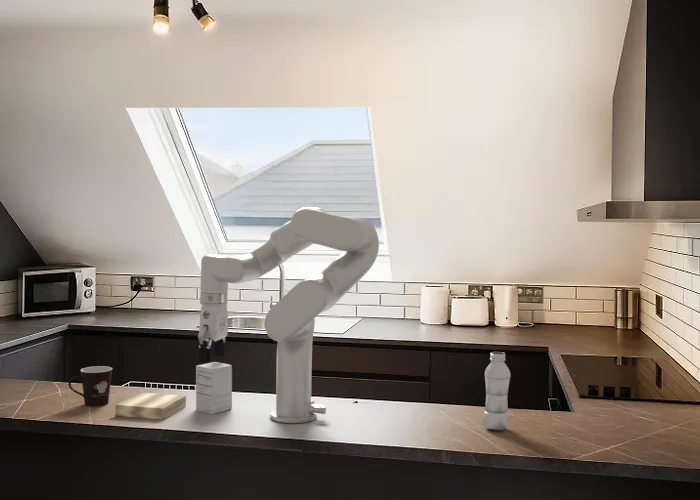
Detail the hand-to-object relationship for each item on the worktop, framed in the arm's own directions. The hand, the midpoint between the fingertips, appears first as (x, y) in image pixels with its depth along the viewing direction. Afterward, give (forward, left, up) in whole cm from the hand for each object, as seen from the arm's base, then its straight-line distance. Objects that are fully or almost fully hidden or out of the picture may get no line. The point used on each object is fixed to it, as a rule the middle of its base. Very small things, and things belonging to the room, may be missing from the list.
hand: (212, 359), depth 199 cm
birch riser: (+15, +6, -14) cm, 22 cm away
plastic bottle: (-79, -1, -14) cm, 80 cm away
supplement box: (-1, 0, -14) cm, 14 cm away
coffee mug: (+35, +4, -14) cm, 38 cm away
